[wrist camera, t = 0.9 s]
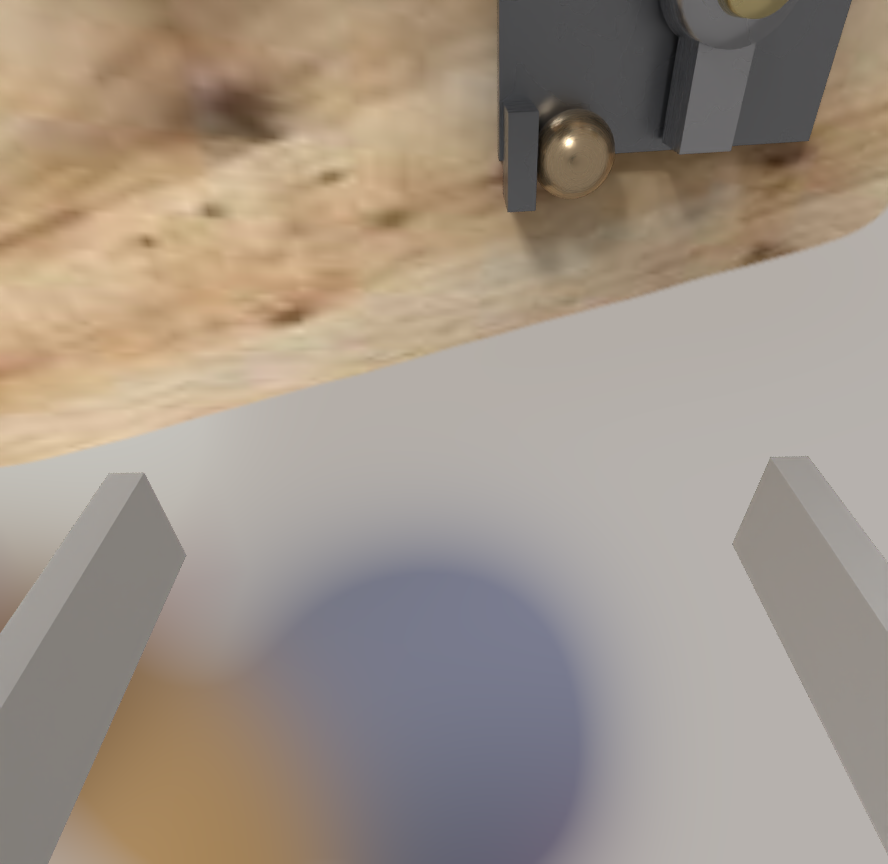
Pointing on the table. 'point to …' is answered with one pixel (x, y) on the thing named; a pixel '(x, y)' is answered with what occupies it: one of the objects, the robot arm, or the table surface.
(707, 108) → the lever
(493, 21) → the table surface
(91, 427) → the table surface
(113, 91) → the table surface
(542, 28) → the base
